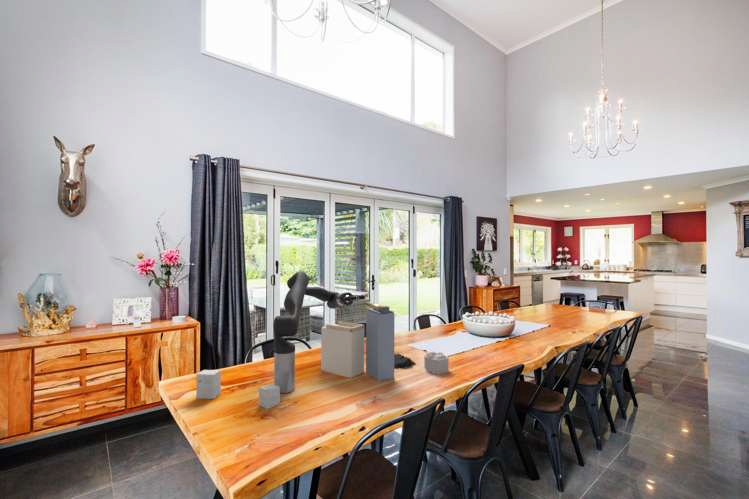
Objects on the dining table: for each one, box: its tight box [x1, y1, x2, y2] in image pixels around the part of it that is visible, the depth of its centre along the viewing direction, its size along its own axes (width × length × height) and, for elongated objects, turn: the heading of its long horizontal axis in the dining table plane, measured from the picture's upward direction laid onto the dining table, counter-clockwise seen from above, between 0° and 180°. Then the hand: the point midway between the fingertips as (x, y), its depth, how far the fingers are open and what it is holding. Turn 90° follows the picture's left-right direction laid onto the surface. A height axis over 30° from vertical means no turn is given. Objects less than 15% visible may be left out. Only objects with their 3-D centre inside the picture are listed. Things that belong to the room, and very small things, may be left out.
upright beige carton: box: [320, 320, 365, 379], centre depth 184 cm, size 20×11×24 cm, turn 56°
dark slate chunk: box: [394, 353, 417, 370], centre depth 199 cm, size 15×22×5 cm
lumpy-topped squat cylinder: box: [423, 351, 450, 374], centre depth 187 cm, size 10×13×9 cm
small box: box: [195, 369, 222, 400], centre depth 151 cm, size 8×6×10 cm
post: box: [365, 308, 395, 382], centre depth 178 cm, size 14×9×33 cm, turn 26°
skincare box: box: [258, 383, 281, 410], centre depth 143 cm, size 6×6×7 cm
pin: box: [363, 301, 390, 314], centre depth 183 cm, size 22×5×3 cm, turn 26°
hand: (357, 297), depth 192 cm, fingers open, 8 cm apart
